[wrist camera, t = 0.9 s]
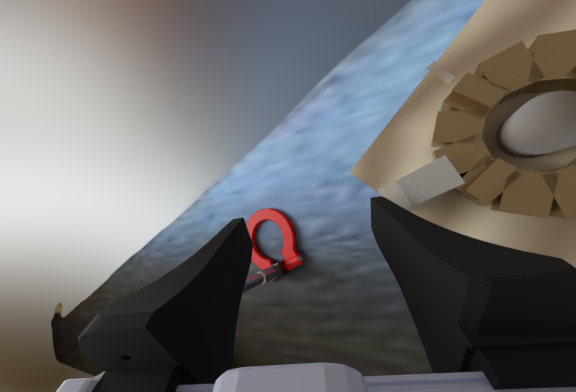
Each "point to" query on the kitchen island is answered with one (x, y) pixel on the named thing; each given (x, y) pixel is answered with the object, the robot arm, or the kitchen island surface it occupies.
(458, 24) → the kitchen island surface
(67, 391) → the robot arm
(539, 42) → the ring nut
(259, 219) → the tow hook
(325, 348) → the kitchen island surface
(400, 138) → the spindle board
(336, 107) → the kitchen island surface
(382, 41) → the kitchen island surface
